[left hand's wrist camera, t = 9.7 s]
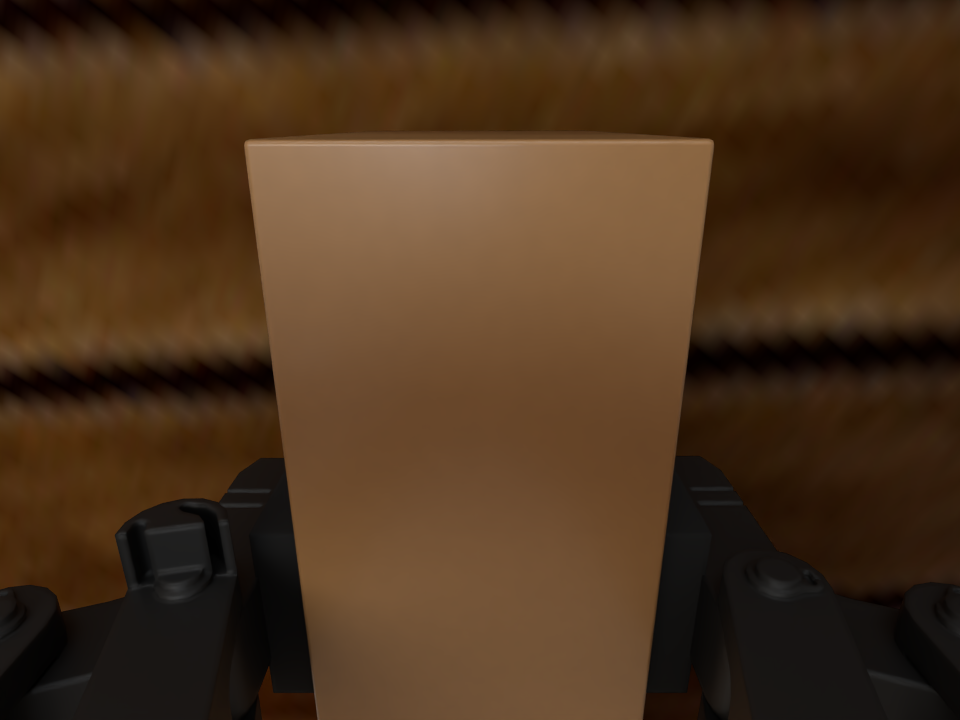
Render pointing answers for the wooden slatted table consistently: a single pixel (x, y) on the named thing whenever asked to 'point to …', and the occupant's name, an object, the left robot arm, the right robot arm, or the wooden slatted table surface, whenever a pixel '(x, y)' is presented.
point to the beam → (479, 408)
